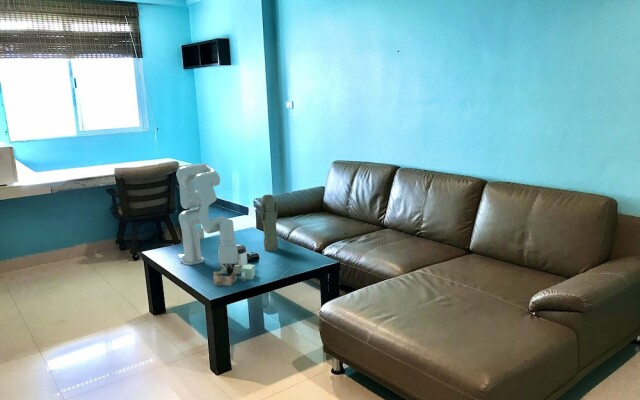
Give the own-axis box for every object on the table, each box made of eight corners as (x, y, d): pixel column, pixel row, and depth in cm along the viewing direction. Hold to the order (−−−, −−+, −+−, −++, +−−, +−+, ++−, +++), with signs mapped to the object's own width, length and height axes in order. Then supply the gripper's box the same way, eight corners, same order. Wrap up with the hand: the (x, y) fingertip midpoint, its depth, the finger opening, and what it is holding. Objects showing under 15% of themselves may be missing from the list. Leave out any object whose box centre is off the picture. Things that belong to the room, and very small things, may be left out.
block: (241, 279, 265) (240, 268, 264) (244, 275, 271) (243, 264, 269) (252, 279, 264) (251, 268, 263) (255, 275, 270) (254, 264, 268)
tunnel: (209, 285, 258) (209, 277, 257) (221, 272, 276) (221, 264, 275) (231, 285, 256) (231, 277, 255) (242, 272, 274) (241, 265, 273)
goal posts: (241, 281, 261) (240, 272, 260) (249, 272, 274) (248, 263, 273) (245, 281, 261) (244, 273, 260) (252, 272, 274) (252, 263, 273)
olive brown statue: (283, 248, 314) (279, 194, 306) (269, 253, 305) (265, 197, 298) (273, 245, 320) (269, 192, 312) (259, 250, 311) (255, 196, 303)
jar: (241, 264, 288) (239, 244, 286) (250, 266, 283) (249, 246, 280) (229, 268, 282) (227, 248, 279) (238, 271, 276) (237, 250, 274)
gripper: (211, 244, 262) (214, 276, 266) (238, 244, 260) (241, 277, 264) (216, 240, 270) (219, 271, 274) (243, 240, 267) (245, 272, 271)
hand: (230, 274), depth 269 cm, fingers closed
